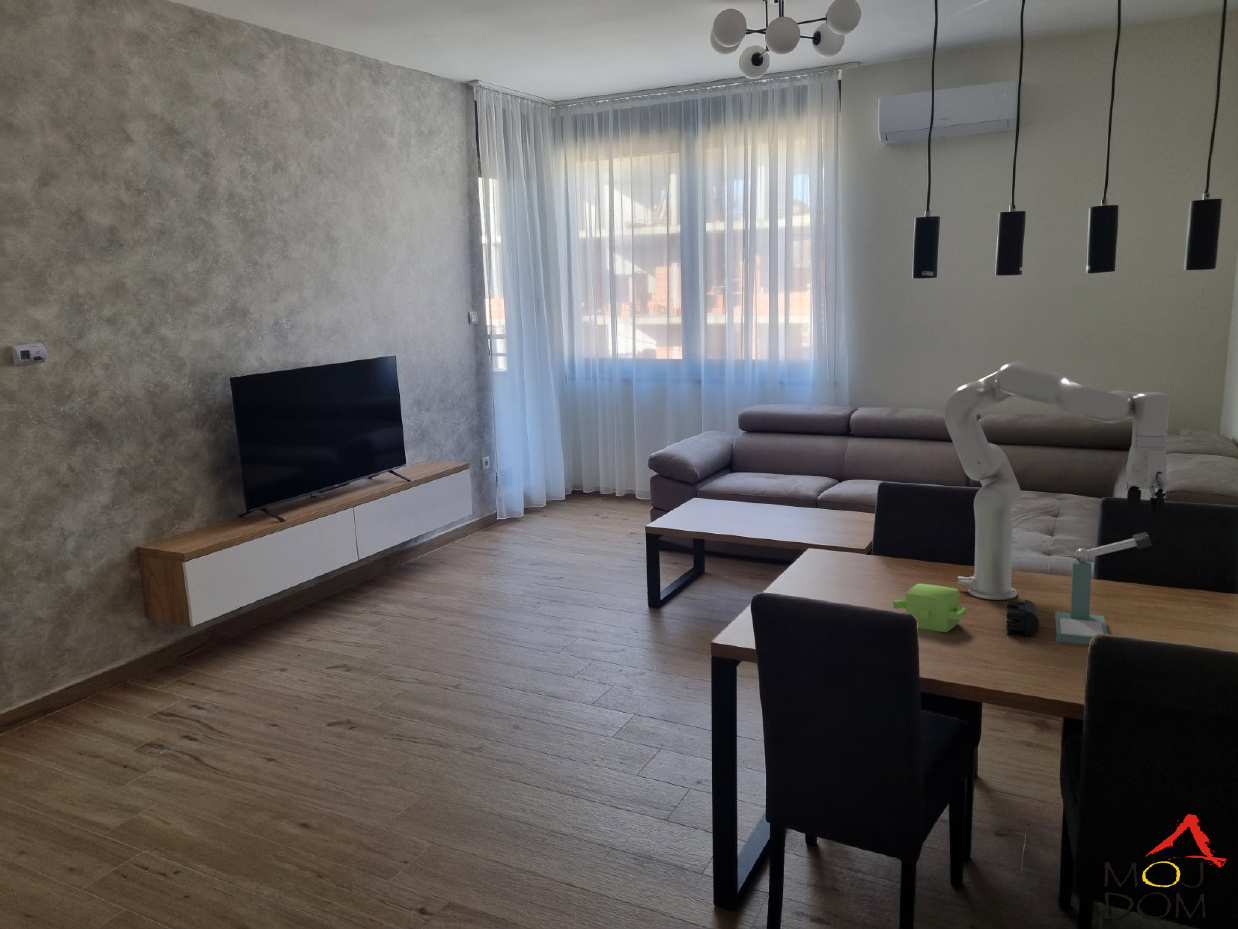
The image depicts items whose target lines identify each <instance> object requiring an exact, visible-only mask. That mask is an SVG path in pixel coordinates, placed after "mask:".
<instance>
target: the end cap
mask: <svg viewBox="0 0 1238 929" xmlns="http://www.w3.org/2000/svg"><path fill="white" fill-rule="evenodd" d="M1006 608H1007V609H1006V624H1005V626H1006V636H1008V637H1009V636H1010V637H1019V638H1027V637H1029V636H1031V635H1033V634H1035V633H1036V632H1037V631H1038V630H1039V627H1040V620H1039V612H1038V607H1037V605H1036V604H1035V603H1034V602H1033V601H1032V600H1029V599H1024V602H1019V601H1006Z"/></svg>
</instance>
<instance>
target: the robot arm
mask: <svg viewBox="0 0 1238 929" xmlns="http://www.w3.org/2000/svg"><path fill="white" fill-rule="evenodd" d="M1014 397H1016V398H1021V399H1024V400H1027V401H1030V402H1031V401H1032V402H1035V403H1039V404H1042V405H1046V406H1050V407H1053V408H1056V409H1058V410H1061V411H1065V412H1068V413H1070V414H1072V415H1075V416H1079V417H1083V418H1087V419H1090V420H1094V421H1098V422H1101V423H1105V424H1106V423H1107V424H1116V423H1120V422H1122V421H1124V420H1129V419H1132V431H1131V432H1132V434H1131V446H1130V448H1129V451H1128V455H1127V456H1128V457H1127V462H1126V470H1124V475H1125V482H1126V490H1127V495H1126V505H1127V506H1130V507H1131V506H1140V505H1141V498H1142V489H1143V490H1148V489H1149V492H1150V495H1151V497H1150V498H1149V507H1148V508H1149V509H1148V510H1149V511H1148V512H1149V514H1151V515H1155V514H1156V515H1159V514H1160V515H1161V514H1164V508H1165V498H1166V497H1167V494H1168V492H1169V489H1170V486H1171V482H1170V480H1168V478H1167V466H1168V465H1167V463H1168V462H1167V451H1166V450H1167V448H1168V447H1167V446H1168V445H1167V444H1168V443H1167V442H1168V433H1169V431H1168V430H1169V429H1168V428H1169V417H1170V416H1169V415H1170V403H1171V400H1170V396H1169V394H1167V393H1165V392H1157V391H1147V392H1146V391H1145V392H1144V391H1143V392H1136V391H1129V390H1123V389H1122V390H1121V389H1118V390H1112V391H1105V390H1101V389H1096V388H1092V387H1090V386H1085V385H1084V384H1080V383H1077V382H1075V381H1074V380H1072V379H1071V378H1070V377H1069V376H1067V375H1064V374H1061V373H1057V372H1054V371H1049V370H1048V371H1047V370H1043V369H1042V368H1041V369H1040V368H1036V367H1033V366H1032V365H1031V364H1029V363H1027V362H1026V361H1013V362H1010V363H1009V362H1008V363H1005V364H1004V365H1003V366H1000V368H999V369H998V370H997V371H995V372H993V373H991V374H989V375H987V376H985V377H983V378H981V379H978V380H977V381H972V382H969V383H965V384H963V385H960V386H959V387H957V388H956V389H955V390H954V391H953V392H952V393H950V396H949V397H948V398H947V400H946V402H945V403H944V404H945V405H944V407H943V408H944V409H943V418H944V423H945V424H944V425H945V426H946V429H947V431H948V434H949V436H950V438H951V442H952V444H953V446H954V449H955V451H956V454H957V456H958V458H959V462H960V463H961V466H962V469H963V471H964V473H965V474H966V476H967V477H968V478H969V479H971V480H973V481H978V482H980V485H981V488H980V489H978V491H977V492H976V493H975V497H974V500H973V511H974V512H973V513H974V523H975V524H974V525H975V529H974V531H975V532H974V536H975V538H974V541H975V542H974V544H975V545H974V574H973V575H970V576H969V577H968V576H967V577H966V576H959V575H958V576H957V584H961V586H968V587H967V588H968V593H969V594H970V595H971V596H973V597H976V598H979V599H985V600H992V601H1001V600H1002V601H1003V600H1005V601H1006V600H1012V599H1014V598H1016V597H1017V594H1018V592H1017V589H1015V588H1014V587H1012V564H1013V563H1012V559H1013V558H1012V557H1013V521H1012V520H1013V518H1012V510H1013V509H1015V508H1016V507H1017V506H1018V505H1019V503H1020V502H1021V499H1022V498H1021V497H1022V492H1021V489H1020V485H1019V482H1018V480H1017V477H1016V475H1015V473H1014V471H1013V468H1012V466H1011V463H1010V461H1009V459H1008V456H1007V455H1006V453H1005V452H1004V450H1003V449H1002V448H1001V447H1000V446H999V445H997V444H995V443H991V442H989V441H988V439H987V437H986V435H985V432H984V430H983V427H982V426H981V424H980V422H979V421H978V419H977V414H978V413H980V412H983V411H986V410H989V409H991V408H993V407H995V406H997V405H999V404H1002V403H1003V402H1005V401H1007V400H1010V399H1012V398H1014ZM1156 490H1157V491H1156Z"/></svg>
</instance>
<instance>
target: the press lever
mask: <svg viewBox="0 0 1238 929" xmlns="http://www.w3.org/2000/svg"><path fill="white" fill-rule="evenodd" d="M1152 546H1153V544H1152V541H1151V538H1150V536H1149V534H1148V532H1147V531H1144V532H1139V533H1135V534H1133V535H1132V538H1129V539H1125V540H1121V541H1118V542H1117V541H1116V542H1113V543H1109V544H1105V545H1101V546H1100V545H1099V546H1097V547H1093V548H1089V549H1087V548H1085V547H1079V548H1077V549H1076V550H1075V552H1074V554H1075V559H1076V561H1079V562H1089V560H1090V558H1092V557H1093V558H1094V557H1097V556H1102V555H1105V554H1106V555H1107V554H1110V553H1114V552H1117V551H1122V550H1125V549H1130V548H1134V547H1137V549H1144V548H1147V547H1152Z"/></svg>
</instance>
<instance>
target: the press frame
mask: <svg viewBox="0 0 1238 929" xmlns="http://www.w3.org/2000/svg"><path fill="white" fill-rule="evenodd" d="M1071 568H1072V570H1071V598H1070V612H1066V611H1065V612H1064V611H1063V612H1062V611H1054V626H1055V641H1056V642H1057V643H1065V644H1066V643H1067V644H1077V645H1078V644H1079V645H1087V646H1089V645H1088V644H1089V642H1090V640H1091V638H1092V637H1095V635H1097V634H1108V635H1109V632H1108V628H1107V624H1106V623H1107V622H1106V619H1105V616H1104V615H1099V614H1097V615H1096V614H1090V608H1091V607H1090V606H1091V604H1090V603H1091V582H1092V581H1091V580H1092V562H1091V561H1087V562H1079V561H1078V560H1072V567H1071Z"/></svg>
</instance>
